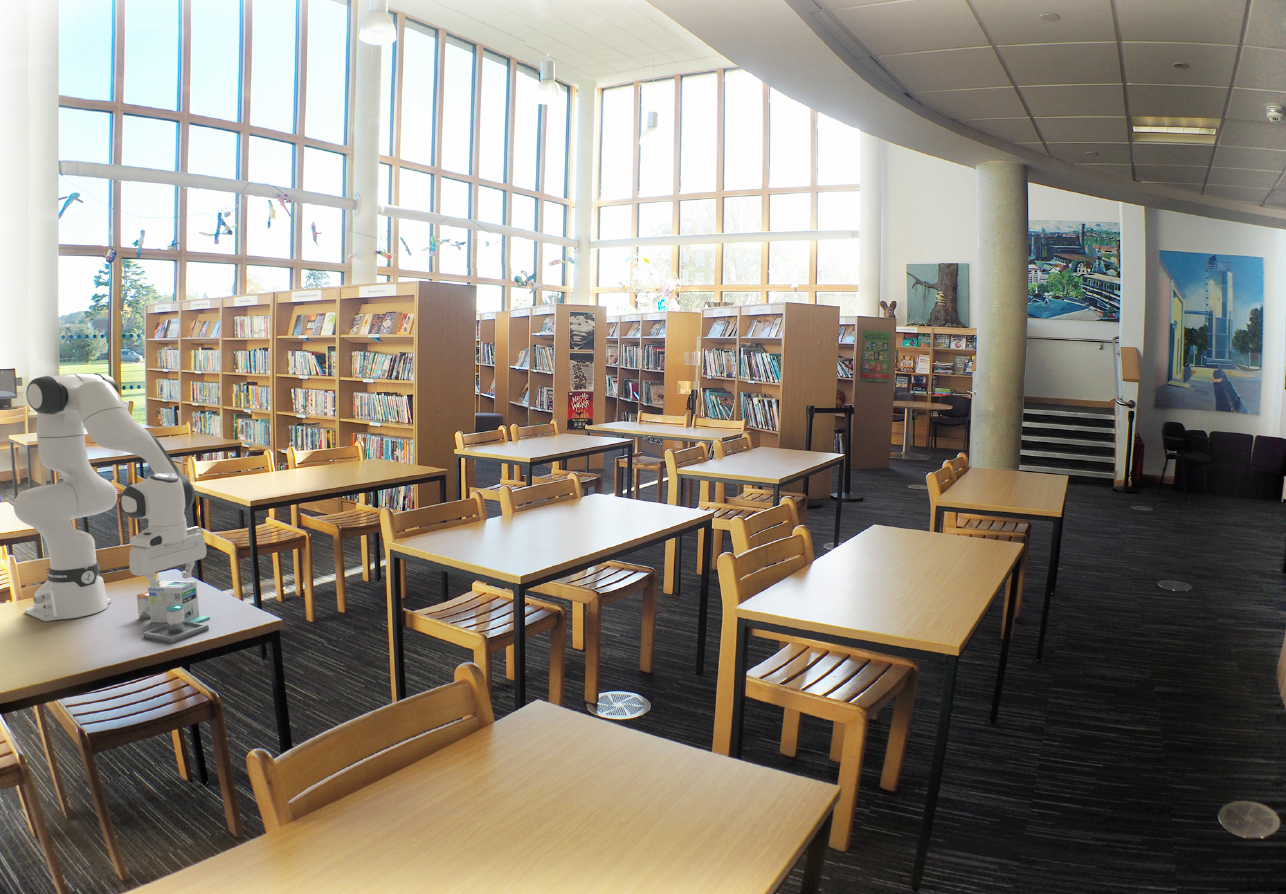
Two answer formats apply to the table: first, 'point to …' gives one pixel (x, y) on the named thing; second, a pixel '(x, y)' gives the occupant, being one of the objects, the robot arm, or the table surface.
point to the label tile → (199, 619)
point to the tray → (163, 635)
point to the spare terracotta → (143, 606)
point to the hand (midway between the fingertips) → (171, 582)
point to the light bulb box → (173, 599)
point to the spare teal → (175, 619)
